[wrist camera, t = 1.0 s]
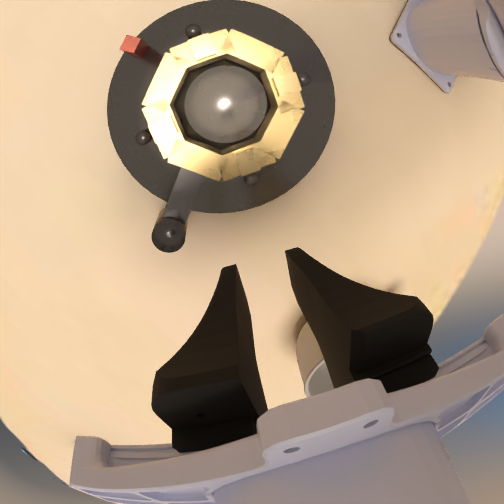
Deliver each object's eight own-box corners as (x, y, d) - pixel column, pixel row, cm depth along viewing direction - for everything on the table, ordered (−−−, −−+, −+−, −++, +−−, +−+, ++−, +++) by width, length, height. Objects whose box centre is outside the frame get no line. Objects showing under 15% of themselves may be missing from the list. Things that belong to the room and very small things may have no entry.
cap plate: (170, -20, 12) (161, -50, 8) (360, 67, 18) (398, 63, 13) (86, 168, 19) (56, 189, 14) (270, 234, 24) (285, 268, 19)
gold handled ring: (189, 22, 14) (186, 9, 11) (312, 76, 17) (329, 73, 14) (112, 211, 19) (99, 229, 17) (224, 250, 23) (226, 272, 20)
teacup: (298, 365, 34) (315, 417, 27) (274, 308, 28) (294, 372, 21) (396, 323, 33) (425, 367, 26) (396, 258, 28) (439, 305, 21)
